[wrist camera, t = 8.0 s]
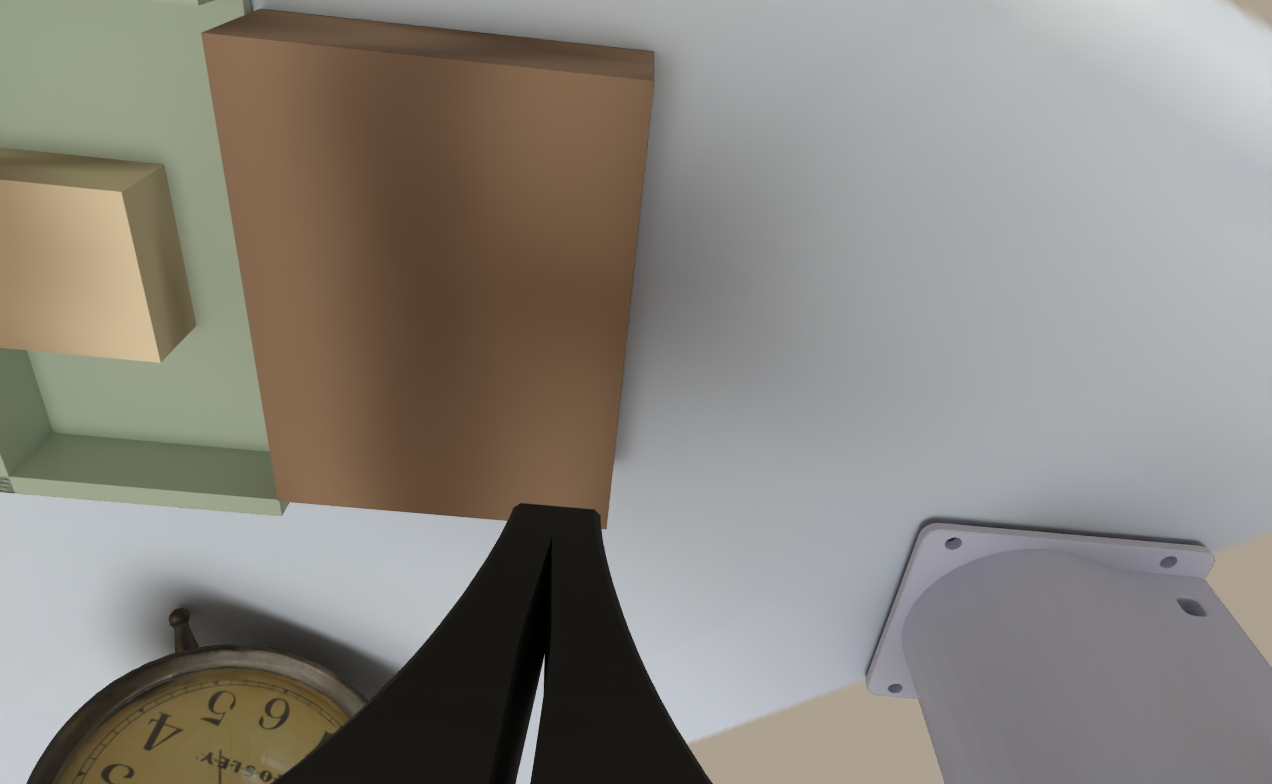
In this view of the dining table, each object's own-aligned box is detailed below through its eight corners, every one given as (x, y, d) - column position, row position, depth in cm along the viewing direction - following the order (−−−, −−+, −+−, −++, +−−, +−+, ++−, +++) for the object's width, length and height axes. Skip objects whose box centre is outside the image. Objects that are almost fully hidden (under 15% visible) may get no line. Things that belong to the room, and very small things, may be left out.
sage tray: (244, -41, 19) (193, -27, 17) (311, 462, 26) (281, 516, 24) (-129, -83, 18) (-230, -74, 16) (46, 439, 26) (-7, 491, 24)
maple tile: (-84, 171, 19) (-24, 145, 21) (-22, 345, 21) (28, 309, 23) (121, 191, 19) (164, 164, 21) (160, 362, 22) (196, 325, 23)
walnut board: (653, 51, 20) (653, 81, 17) (610, 463, 26) (606, 529, 24) (260, 8, 19) (201, 32, 17) (314, 437, 26) (278, 501, 23)
